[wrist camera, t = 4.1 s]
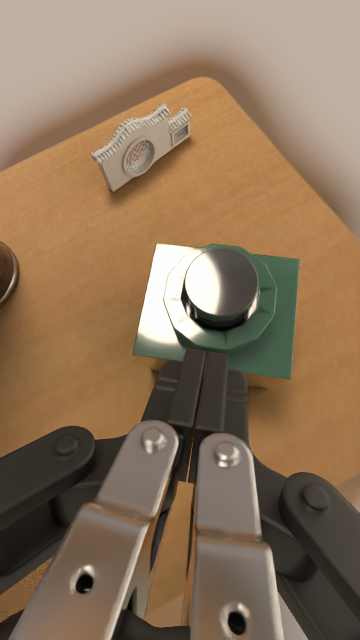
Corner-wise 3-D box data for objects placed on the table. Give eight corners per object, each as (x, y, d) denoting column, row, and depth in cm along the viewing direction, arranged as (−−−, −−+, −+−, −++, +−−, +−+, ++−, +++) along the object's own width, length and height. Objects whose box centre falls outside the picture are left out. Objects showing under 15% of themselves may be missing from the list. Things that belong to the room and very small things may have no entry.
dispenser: (150, 369, 30) (124, 347, 20) (167, 281, 32) (151, 225, 23) (268, 388, 28) (301, 375, 19) (277, 296, 31) (310, 243, 21)
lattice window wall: (184, 129, 38) (180, 78, 32) (194, 137, 37) (192, 87, 32) (104, 187, 36) (85, 144, 30) (113, 196, 36) (96, 155, 30)
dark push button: (181, 323, 21) (178, 310, 18) (192, 262, 22) (190, 244, 20) (248, 332, 20) (254, 321, 18) (255, 270, 21) (262, 252, 19)
